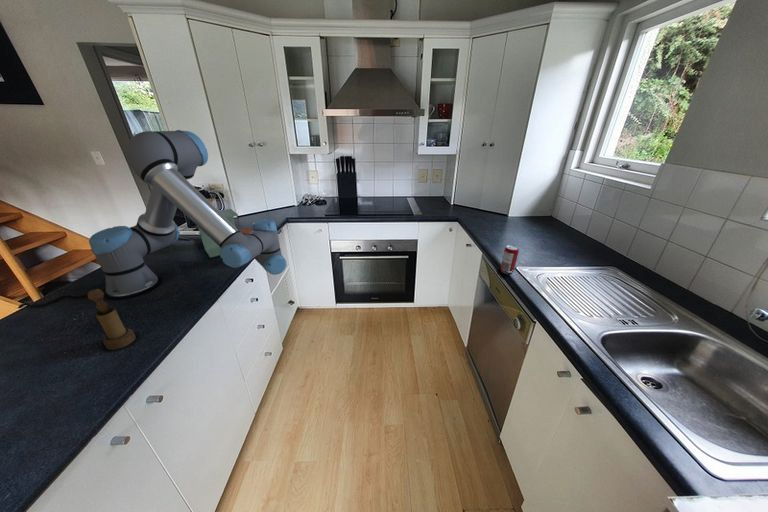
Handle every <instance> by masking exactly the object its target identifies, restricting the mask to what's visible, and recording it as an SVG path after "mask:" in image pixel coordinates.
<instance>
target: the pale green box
mask: <svg viewBox="0 0 768 512" xmlns="http://www.w3.org/2000/svg"><path fill="white" fill-rule="evenodd" d="M218 211H219V212H220V213H221V214H222V215H223V216H224V217H225V218H226V219H228V220H229V221H230V222H231V223H232V224H233V225H234V226H235V227H236V228H237V226H236V222H235V219H234V217H238V216H239V214H238V213H237V212H236V211H235V210H233V209H232V208H227V209H221V210H218ZM197 229H198V232H199V235H200V238H201V242H202V244H203V248H204V250H205V252H206V254H207V255H208V257H209V258H214V257H218V256H220V251H221V247H220V246H218V245H217V244H216V243H215V242H214V241H213V240H212V239H211V238H210V237H209V236H208V235H207V234H206V233H204V232H203V231H202V230H201V229H200V228H199V227H198V226H197Z"/></svg>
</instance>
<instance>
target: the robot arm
mask: <svg viewBox="0 0 768 512" xmlns="http://www.w3.org/2000/svg"><path fill="white" fill-rule="evenodd" d="M126 155H127V160H128V163H129V165H130V167H131V168H132V170H133V171H134V173H135V174H136V175H137V176H138V177H139V178H140V179H141V180H142V182H144V183H145V184H146V185H147V186H151V190H150V192H149V193H150V194H149V197H148V201H147V204H146V208H145V211H144V213H141V214H140V215H139V216H138V218H137V222H136V223H135V225H133V226H130V227H129V226H127V225H117V226H112V227H108V228H105V229H102V230H99V231H97V232H95V233H93V234H92V235H91V236H90V237H89V239H88V243H89V246H90V250H91V252H92V253H93V255H94V257H95V258H96V261H97V263H98V265H99V266H100V268H101V271H102V272H103V274H104V277H105V286H103V287H99V288H98V289H99V290H101V291H103V290H105V293H106V294H107V297H108V298H111V299H117V300H118V299H119V300H121V299H127V298H132V297H136V296H139V295H142V294H144V293H147V292H149V291H151V290H152V289H154V288H156V287H157V285H158V284H159V282H160V281H159V278H158V276H157V275H156V274H155V273H154V272H153V271H152V270H151V268H150V267H148V266H147V264H146V263H145V260H144V257H146V256H148V255H150V254H153V253H155V252H157V251H160V250H162V249H165V248H169V247H170V246H172V245H173V244H175V243H176V242H178V240H179V237H180V230H179V227H178V225H177V224H176V222H175V221H174V218H175V215H176V212H177V209H178V210H180V212H181V213H183V214H184V215H185V216H186V217H187V218H188V219H189V220H190V221H191V222H193V224H195V226H196V227H197V228H198V227H199V228H200V229H201V230H202V231H203V232H204V233H206V234H207V235H208V236H209V237H210V238H211V239H212V240H213V241H214V242H215V243H216V244H217V245H218V246H220V247H221V251H220V255H219V256H220V259H222V262H223V263H224V264H225V265H226V266H228V267H230V268H234V269H235V268H240V267H243V266H244V265H246V264H247V263H250V262H251V261H252V260H253V259H254V260H255V261H256V262H257V263H258V264H259V265H260V266H261V267H262V268H263V269H264V271H265V272H267V273H268V274H270V275H274V276H276V275H280V274H282V273H283V272H284V271H285V270H286V268H287V264H288V263H287V259H286V258H285V257H284V256H283V255H282V250H281V246H280V238H279V232H278V230H277V229H278V228H277V225H276V222H275V221H274V220H273V219H269V218H264V219H263V218H262V219H258V220H255V221H253V223H252V228H253V232H251V233H249V234H247V235H245V236H244V235H243V234H242V233H241V232H240V231H239V230H240V229H238V228H237V226H236V225H235V226H236V227H235V226H234V225H233V224H232V223H231V222H230V221H229V220H228V219H226V218H225V217H224V216H223V215H222V214H221V213H220V212H219V211H220V210H219V209H218V210H217V209H216V208H215V207H214V206H213V205H212V204H211V203H210V202H209V201H208V200H207V199H208V198H206V197H205V196H204V195H203V194H202V193H201V192H200V191H199V190H198V189H197V188H196V187H195V186H194V185H193V184H191V182H189V180H190V179H193V177H194V176H195V173H196V171H197V168H198V167H203V166H205V165H206V164H207V162H208V160H209V153H208V149H207V147H206V145H205V143H204V142H203V140H202V139H201V138H200V136H198V135H197V134H196V133H194V132H192V131H189V130H181V129H176V130H145V131H140V132H138V133H136V134H134V135H133V136H131V138H130V139H129V141H128V143H127V145H126ZM88 292H89V291H86V292H84V293H80V294H74V293H65V294H62V295H59V296H57V297H54V298H52V299H50V300H48V301H45V302H41V303H40V302H39V303H34V304H32V302H24V303H21V304H19V305H18V307H17V309H22V308H23V307H25V306H29V307H42V306H46V305H49V304H52V303H54V302H57V301H59V300H60V299H63V298H66V297H73V298H82V297H85V296H87V294H88ZM30 304H32V305H30Z"/></svg>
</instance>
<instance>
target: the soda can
mask: <svg viewBox="0 0 768 512" xmlns="http://www.w3.org/2000/svg"><path fill="white" fill-rule="evenodd" d="M503 250H504V251H503V255H502V258H501V264H500V269H499V270H500V271H501V273H502V274H505V275H509V274H508V272H505V271H512V270H514V271H515V268H516V264H517V260H518V257H519V254H520V253H519V252H520V249H519V247H518V246H517V245H515V244H514V245H513V244H507V245H506V246H505V248H504V249H503Z"/></svg>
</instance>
